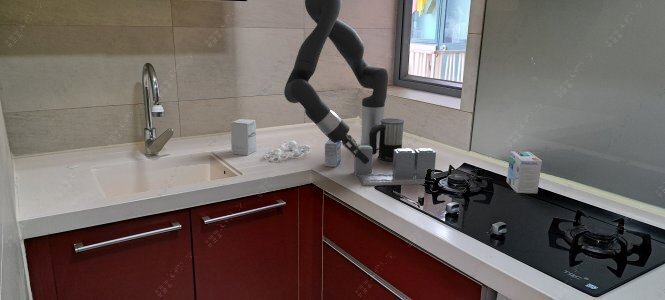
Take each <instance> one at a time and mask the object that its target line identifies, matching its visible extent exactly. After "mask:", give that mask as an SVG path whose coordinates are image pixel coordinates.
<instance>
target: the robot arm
mask: <svg viewBox="0 0 665 300" xmlns="http://www.w3.org/2000/svg"><path fill="white" fill-rule="evenodd" d="M304 7H305V10H306V12H307V13H308V16H310V18H311V19H312V20H313V21H314V23H316V26H315V27H314V29H313V30H312V32H311V33H310V34H309V35H308V36H307V37H306V38H305V39H304V41H303V42H302V44H301V45H300V47H299V49H298V52H297V54H296V55H297V56H296V59H295V62H294V65H293V68H292V71H291V72H290V75H288V76H289V77H288V79H287V81H286V83H285V86H284V89H283V91H284V92H283V93H284V97H285V99H286V101H288V102H289V103H291V104H298V103H299V104H300V105H301V106H302V108H303V109H304V113H305V115H306V116H307V117H308V118H309V119H310V120H311V121H312V123H314V124H315V126H317V128H318V129H319V130H320V131H321V133H323V134H324V136H326V138H328V140H329V139H330V140H331V141H332V142H333V143H337V142H339V141H341V146H343V147H344V148H345V149H347V150H348V152H349V153H350V154H352V155H353V156H355V157H356V158H357V157H358V158H359V159H360V160H361V161H362V162H363V163H364V164H366V163H367V162H368V161H369V159H368V158H367V157H366V156H365V155H364V154H363V153H362V151H361V150H360V149H359V146H364V145H369V133H370V130H371V128H372V127H373V126H375V125H381V121H380V120H381V119H385V103H386V100H387V94H388V93H387V92H388V83H389V73H388V72H389V71H388V70H387V68H386V67H384V66H377V65H369V64H368V63H367V62H366V61H365V59H364V58H363V57H364V54H365V45H364V44H365V43H364V41H363V40H362V39H361V37H360V36H359V35H358V33H357V31H356V30H355V29H354V28H352V27H351V26H350V25H348V24H347V23H345V22H343V21H342V20H341V19H338V17H339V15H340V12H341V11H342V0H304ZM328 39H329V40H330V41H331V43H332V44H333V45H334V47H335V49H337V51H338V52H339V54H340V55H341V56H342V58H343V59H344V60H345V62H346V63H347V64H348V66H349V68H350V69H351V70H352V73H353V75H354V76H355V78H356V80H357V81H358V83H359V85H360V86H361V87H362V88H365V89H369V90H372V94H371V95H369V96H366V97H365V96H364V98H362V99H361V100H362V101H361V121H360V124H361V125H360V145H358V143H357V141H356V140H355V139H354V138H353V137H352V135H351V134H348V133H349V132H350V126H349V125H348V124H347V123H346V122H345V121H344V120H343V119H342V118H341V117H340V116H339V115H338V114H337V113H336V112H335V111H333V110H332V109H331V108H330V107H329V106H328V105H327V104H326V103H325V101H323V100H322V99H321V98H320V95H319V94H318V92H317V91H316V90H315V88H314V87H313V86H312V85H311V83H309V81H310V79H311V77H313V75H314V74H315V73H316V70H317V69H316V68H317V66H318V63H319V59H320V57H321V53H322V50H323V48H324V46H325V43H326V41H327V40H328ZM379 139H380V131H379V132H378V133H377V150H379ZM369 146H370V145H369ZM356 149H357V150H358V152H357V153H355V150H356Z"/></svg>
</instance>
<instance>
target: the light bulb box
mask: <svg viewBox="0 0 665 300" xmlns="http://www.w3.org/2000/svg"><path fill="white" fill-rule="evenodd" d="M542 165H543V160H542V159H540V158H539V157H537V156H536V155H535V154H533V153H532V152H531V151H514V150H513V151H512V150H511V151H510V152H509V160H508V167H507V175H506V183H507V184H508V185H509V186H510V187H511V188H512V189H513V191H514V192H515V193H517V194H521V193H522V194H538V191H539V183H540V178H541V177H540V176H541V171H542Z"/></svg>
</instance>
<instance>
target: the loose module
mask: <svg viewBox="0 0 665 300" xmlns="http://www.w3.org/2000/svg"><path fill="white" fill-rule="evenodd" d="M358 146H359V149H360V150H361V151H362V153H363V154H364V155H365V156H366V157H367V158H368V159H369V161H368V162H367V163H366V164H364V163H363V162H362V161H361V160H360V159H359V158H358V157H357V158H356V157H355V156H354V155H353V156H354V161H353V162H354V163H353V173H354V176H356V177H357V176H358V177H359V174H373V172H372V171H373V169H372V168H373V154H372V153H373V148H372V147H371V146H369V145H364V146H361V145H358ZM354 152H355V153H357V152H358V150H357V149H356V150H355V151H354Z"/></svg>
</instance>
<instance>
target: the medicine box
mask: <svg viewBox="0 0 665 300" xmlns="http://www.w3.org/2000/svg"><path fill="white" fill-rule="evenodd" d="M341 142H342V141H339V142H337V143H333V142H332V141H331V140H330V139H329V138H328V140H327V141H326V142H325V144H324V166H325V167H329V168H337V167H338V166H339V164H340V162H341V158H342V157H341V154H342V152H341V151H342V149H341V148H342V143H341Z"/></svg>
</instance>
